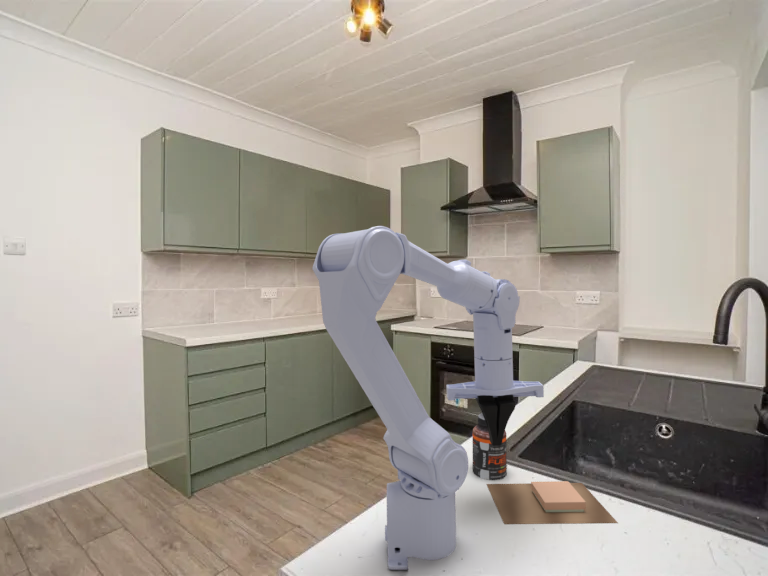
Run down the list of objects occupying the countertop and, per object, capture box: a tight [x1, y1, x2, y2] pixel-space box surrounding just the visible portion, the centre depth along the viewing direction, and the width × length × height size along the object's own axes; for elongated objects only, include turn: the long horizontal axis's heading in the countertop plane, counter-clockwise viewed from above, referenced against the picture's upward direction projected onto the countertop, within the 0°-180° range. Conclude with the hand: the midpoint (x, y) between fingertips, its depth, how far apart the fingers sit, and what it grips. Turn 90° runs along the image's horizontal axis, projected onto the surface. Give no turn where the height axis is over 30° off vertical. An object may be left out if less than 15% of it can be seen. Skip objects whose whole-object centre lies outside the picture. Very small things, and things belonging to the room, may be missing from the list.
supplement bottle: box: [472, 412, 508, 481], centre depth 73 cm, size 6×6×11 cm
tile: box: [530, 480, 586, 512], centre depth 63 cm, size 2×6×6 cm
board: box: [486, 482, 619, 525], centre depth 63 cm, size 16×11×1 cm
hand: (495, 443), depth 63 cm, fingers closed
